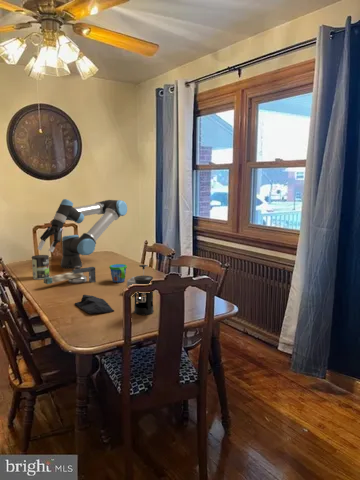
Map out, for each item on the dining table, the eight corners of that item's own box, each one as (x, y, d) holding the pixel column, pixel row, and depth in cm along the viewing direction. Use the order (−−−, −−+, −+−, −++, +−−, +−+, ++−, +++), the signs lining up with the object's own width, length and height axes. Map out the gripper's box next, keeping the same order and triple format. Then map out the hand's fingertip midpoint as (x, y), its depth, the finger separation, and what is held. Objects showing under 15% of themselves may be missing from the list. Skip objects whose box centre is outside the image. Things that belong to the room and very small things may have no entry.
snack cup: (106, 279, 239) (106, 263, 238) (122, 277, 244) (122, 262, 242) (113, 285, 225) (113, 268, 224) (130, 283, 230) (130, 267, 228)
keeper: (74, 285, 225) (74, 270, 224) (72, 284, 228) (72, 269, 226) (95, 281, 233) (95, 267, 232) (93, 280, 236) (93, 266, 234)
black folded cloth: (84, 317, 172) (84, 307, 172) (73, 304, 192) (73, 295, 191) (116, 312, 180) (116, 303, 179) (102, 300, 199) (102, 291, 198)
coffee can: (52, 276, 247) (51, 255, 244) (44, 280, 237) (43, 258, 234) (38, 275, 249) (37, 254, 246) (29, 279, 239) (28, 257, 236)
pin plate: (79, 277, 242) (79, 274, 242) (90, 280, 235) (90, 277, 235) (64, 281, 234) (64, 277, 233) (75, 284, 227) (75, 280, 227)
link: (78, 275, 238) (78, 265, 237) (84, 276, 235) (84, 266, 234) (42, 282, 219) (42, 272, 218) (48, 284, 215) (48, 273, 214)
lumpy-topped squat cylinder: (151, 294, 209) (151, 278, 208) (128, 295, 206) (128, 280, 204) (148, 288, 219) (148, 274, 217) (126, 290, 215) (126, 275, 214)
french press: (130, 310, 182) (129, 263, 178) (148, 307, 186) (147, 261, 183) (140, 317, 172) (139, 268, 168) (158, 314, 176) (158, 266, 173)
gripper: (43, 217, 252) (29, 246, 246) (65, 219, 237) (50, 249, 230) (52, 223, 258) (39, 251, 251) (74, 224, 242) (60, 254, 236)
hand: (44, 250), depth 241 cm, fingers open, 13 cm apart
